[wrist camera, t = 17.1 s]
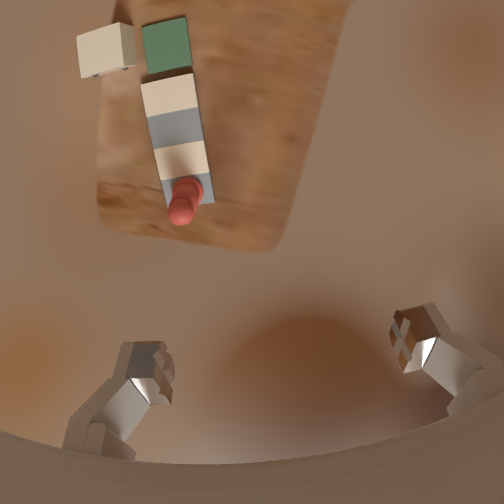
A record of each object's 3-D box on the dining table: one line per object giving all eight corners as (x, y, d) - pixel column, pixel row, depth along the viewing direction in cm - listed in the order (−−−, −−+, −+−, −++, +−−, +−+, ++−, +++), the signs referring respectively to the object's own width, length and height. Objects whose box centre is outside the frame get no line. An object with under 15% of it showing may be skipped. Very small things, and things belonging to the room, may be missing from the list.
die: (134, 24, 25) (92, 36, 25) (119, 19, 21) (73, 34, 21) (138, 67, 28) (97, 78, 28) (124, 68, 24) (79, 81, 24)
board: (142, 84, 30) (140, 84, 29) (193, 73, 29) (192, 73, 29) (169, 205, 39) (168, 209, 38) (215, 198, 38) (214, 202, 38)
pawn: (170, 179, 36) (156, 203, 30) (201, 174, 36) (193, 198, 30) (176, 207, 38) (165, 236, 32) (205, 203, 38) (200, 232, 32)
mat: (142, 27, 26) (141, 27, 25) (185, 17, 26) (185, 17, 25) (149, 74, 29) (148, 74, 29) (192, 64, 29) (192, 64, 29)
